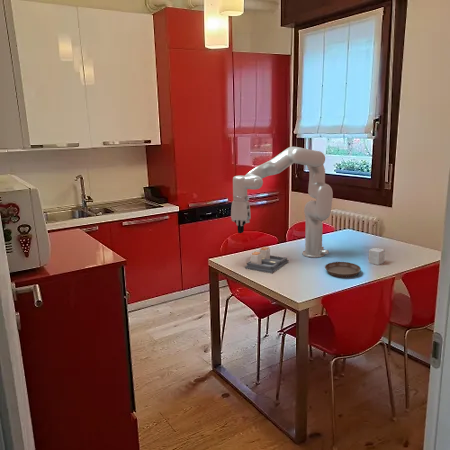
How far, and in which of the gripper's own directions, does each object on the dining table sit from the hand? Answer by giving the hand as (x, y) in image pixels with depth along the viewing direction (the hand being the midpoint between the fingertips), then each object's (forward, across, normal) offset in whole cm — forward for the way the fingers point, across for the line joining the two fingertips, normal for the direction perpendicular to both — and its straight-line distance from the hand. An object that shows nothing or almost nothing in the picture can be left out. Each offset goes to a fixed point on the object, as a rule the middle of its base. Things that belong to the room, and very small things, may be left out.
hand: (240, 232), depth 233 cm
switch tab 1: (+17, -9, 0) cm, 19 cm away
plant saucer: (+18, -52, -13) cm, 57 cm away
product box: (+18, -63, -36) cm, 75 cm away
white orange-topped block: (+17, -9, -10) cm, 22 cm away
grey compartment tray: (+18, -13, -5) cm, 23 cm away
